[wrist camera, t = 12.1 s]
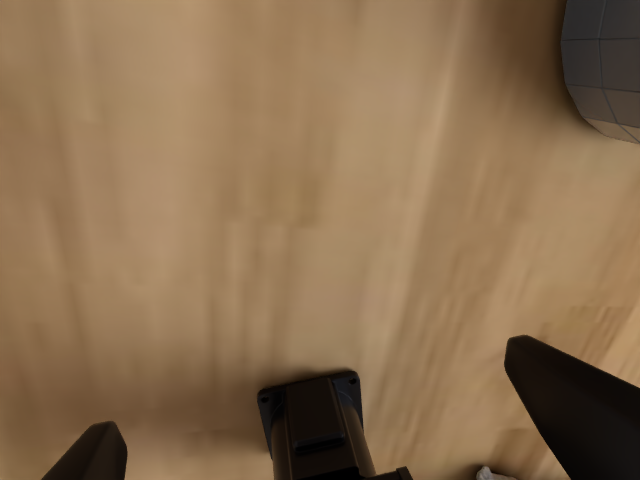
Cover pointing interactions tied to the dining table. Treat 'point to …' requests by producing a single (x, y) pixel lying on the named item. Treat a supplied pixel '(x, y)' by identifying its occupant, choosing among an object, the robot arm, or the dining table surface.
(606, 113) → the dish
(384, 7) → the dining table surface
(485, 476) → the seashell
